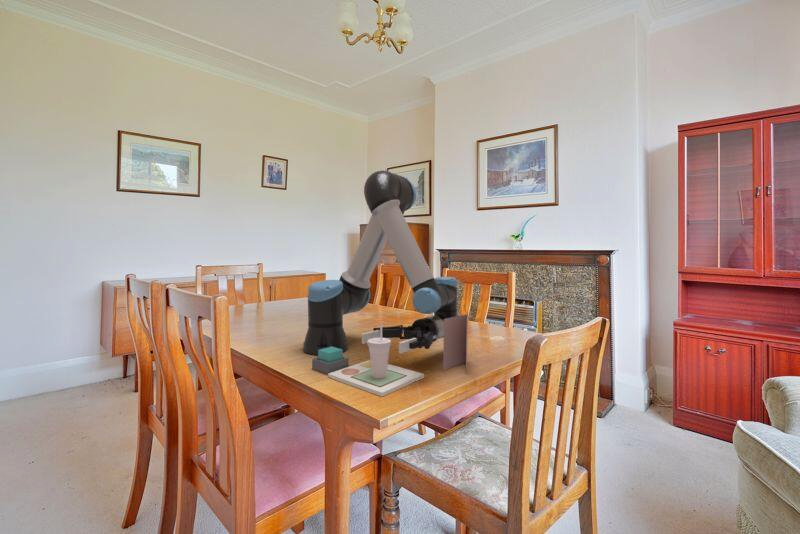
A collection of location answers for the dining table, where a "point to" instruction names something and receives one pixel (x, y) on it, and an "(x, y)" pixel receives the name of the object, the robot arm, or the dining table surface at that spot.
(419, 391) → the dining table surface
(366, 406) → the dining table surface
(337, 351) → the button
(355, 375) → the picture board
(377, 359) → the smoothie
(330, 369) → the button housing
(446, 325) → the greeting card
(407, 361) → the dining table surface
